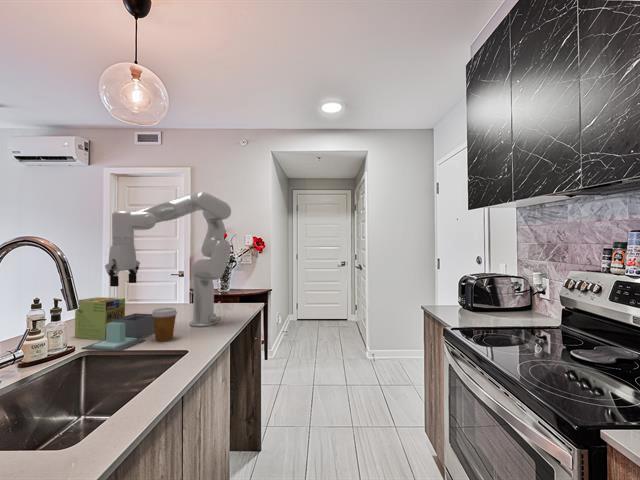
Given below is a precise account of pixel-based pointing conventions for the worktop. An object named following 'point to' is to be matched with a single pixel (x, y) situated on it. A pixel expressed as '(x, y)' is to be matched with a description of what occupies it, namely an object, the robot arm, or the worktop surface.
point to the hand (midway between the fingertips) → (123, 284)
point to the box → (137, 325)
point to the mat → (116, 348)
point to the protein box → (97, 316)
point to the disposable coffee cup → (164, 323)
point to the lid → (114, 336)
